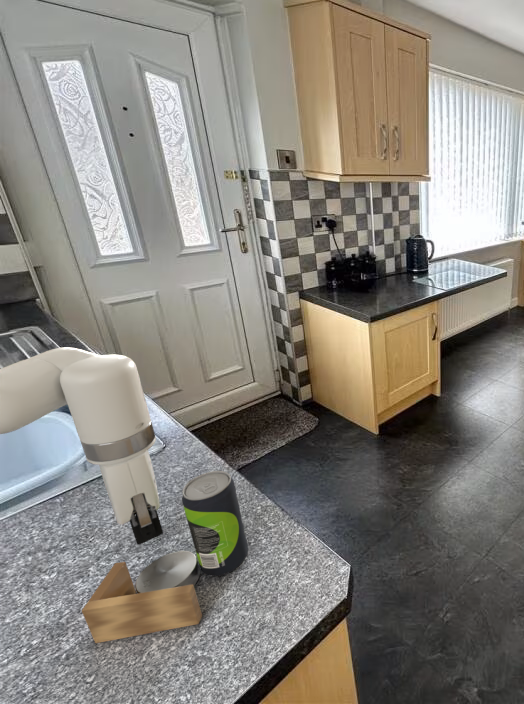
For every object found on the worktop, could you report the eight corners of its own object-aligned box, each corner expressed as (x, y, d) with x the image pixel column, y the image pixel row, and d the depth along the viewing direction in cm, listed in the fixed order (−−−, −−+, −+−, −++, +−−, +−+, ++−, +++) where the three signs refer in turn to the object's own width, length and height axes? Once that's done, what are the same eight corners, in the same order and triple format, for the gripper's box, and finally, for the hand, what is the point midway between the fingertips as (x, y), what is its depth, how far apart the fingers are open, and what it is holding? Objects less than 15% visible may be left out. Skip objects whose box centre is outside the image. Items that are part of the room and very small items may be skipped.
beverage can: (256, 559, 66) (240, 482, 61) (210, 587, 61) (189, 507, 56) (239, 537, 69) (222, 463, 64) (194, 563, 65) (173, 485, 60)
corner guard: (95, 643, 54) (81, 610, 52) (126, 593, 60) (114, 562, 58) (198, 624, 56) (189, 592, 54) (218, 578, 63) (210, 548, 61)
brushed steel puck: (128, 612, 57) (123, 599, 57) (155, 567, 64) (151, 555, 63) (188, 601, 59) (184, 588, 58) (207, 558, 66) (204, 546, 65)
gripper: (79, 427, 62) (111, 522, 68) (89, 478, 53) (125, 583, 59) (144, 408, 67) (169, 498, 74) (164, 452, 58) (190, 551, 64)
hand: (149, 536), depth 66 cm, fingers closed
